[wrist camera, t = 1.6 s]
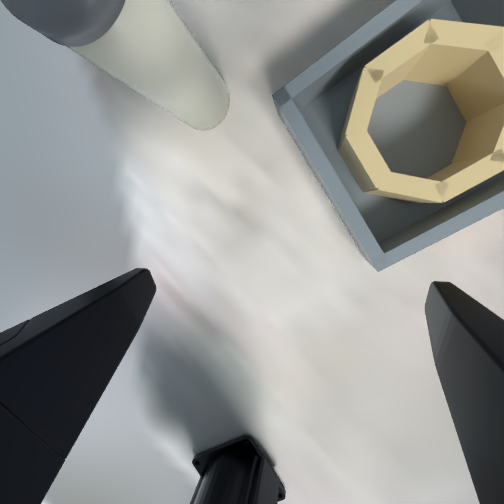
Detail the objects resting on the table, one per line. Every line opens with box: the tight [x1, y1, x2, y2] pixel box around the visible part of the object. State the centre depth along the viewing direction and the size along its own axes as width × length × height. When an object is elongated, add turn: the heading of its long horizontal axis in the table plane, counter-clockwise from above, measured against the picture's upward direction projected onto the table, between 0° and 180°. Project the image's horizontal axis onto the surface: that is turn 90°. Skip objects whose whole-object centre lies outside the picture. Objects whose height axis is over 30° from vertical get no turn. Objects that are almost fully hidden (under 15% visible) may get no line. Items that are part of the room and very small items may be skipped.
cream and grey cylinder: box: [1, 0, 230, 130], centre depth 14 cm, size 4×4×12 cm
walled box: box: [272, 0, 504, 272], centre depth 16 cm, size 12×12×4 cm
